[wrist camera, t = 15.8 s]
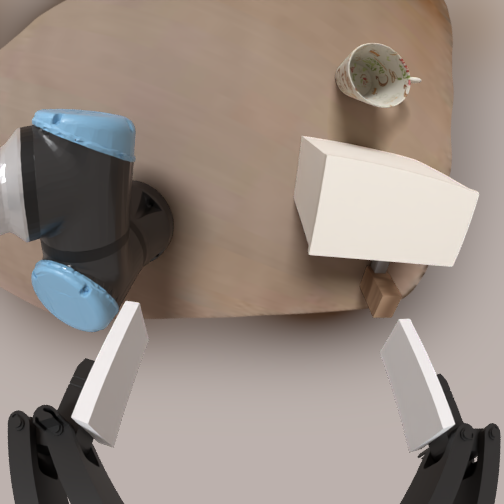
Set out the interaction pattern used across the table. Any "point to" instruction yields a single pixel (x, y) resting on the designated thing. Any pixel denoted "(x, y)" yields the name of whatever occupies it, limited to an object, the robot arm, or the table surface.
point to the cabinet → (379, 205)
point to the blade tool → (380, 290)
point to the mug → (375, 76)
